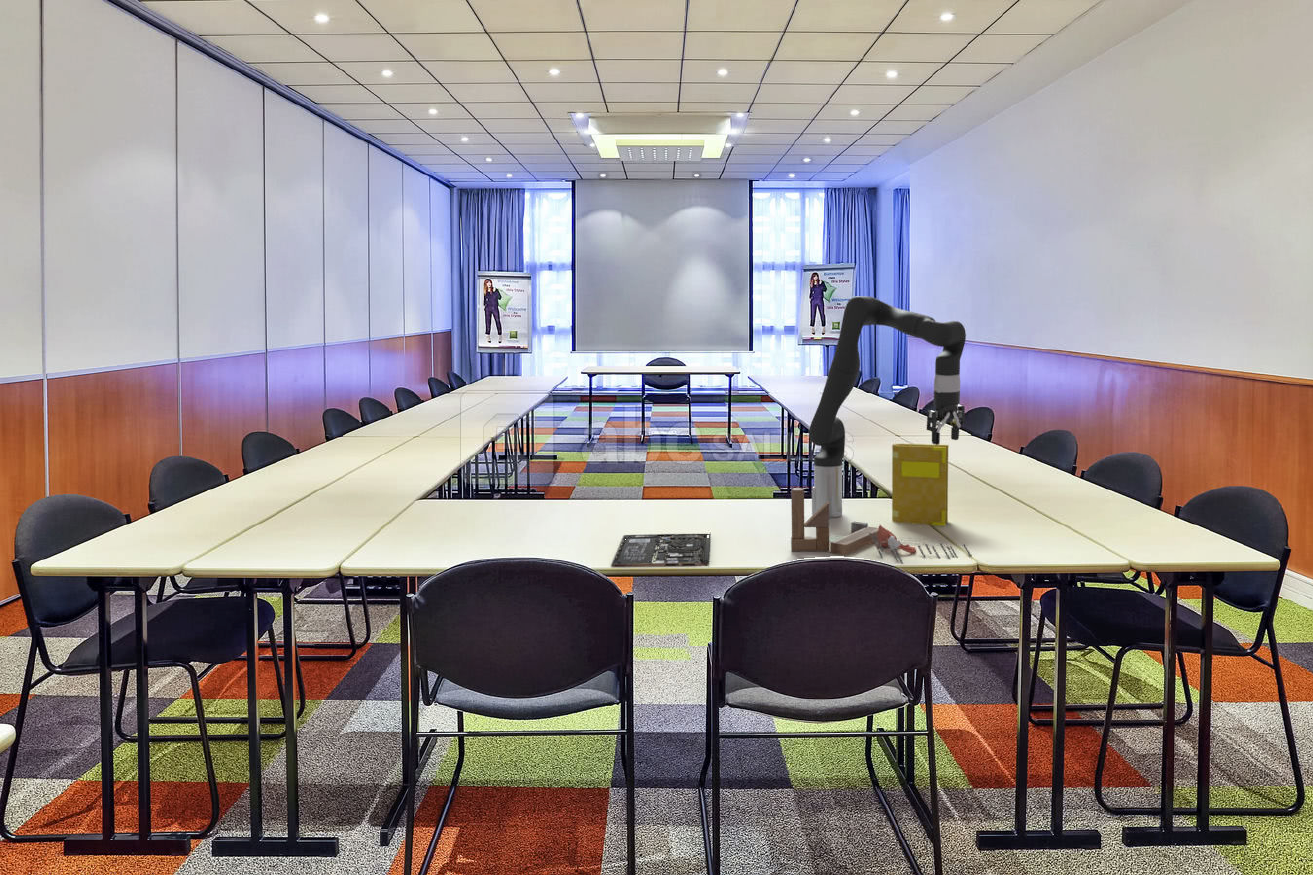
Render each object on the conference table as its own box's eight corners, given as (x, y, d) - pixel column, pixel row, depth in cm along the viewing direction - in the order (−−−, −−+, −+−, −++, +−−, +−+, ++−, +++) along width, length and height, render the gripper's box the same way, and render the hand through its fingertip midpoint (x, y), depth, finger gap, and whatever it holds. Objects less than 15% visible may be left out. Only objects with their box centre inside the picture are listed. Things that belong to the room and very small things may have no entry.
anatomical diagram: (866, 523, 269) (951, 516, 270) (864, 548, 273) (947, 540, 275) (888, 567, 251) (979, 559, 253) (885, 593, 255) (974, 585, 257)
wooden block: (829, 551, 267) (829, 489, 265) (791, 551, 269) (790, 490, 266) (828, 548, 271) (828, 487, 269) (791, 548, 272) (790, 487, 270)
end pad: (810, 539, 282) (810, 538, 282) (823, 534, 288) (823, 533, 288) (846, 544, 275) (846, 543, 275) (858, 539, 281) (858, 538, 281)
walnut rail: (816, 550, 269) (816, 537, 268) (854, 534, 287) (854, 521, 287) (846, 555, 263) (846, 541, 262) (883, 538, 281) (883, 525, 281)
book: (947, 521, 301) (948, 444, 298) (944, 526, 295) (945, 447, 292) (894, 518, 308) (894, 443, 305) (890, 522, 302) (890, 446, 299)
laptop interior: (623, 539, 293) (622, 533, 293) (711, 536, 291) (711, 531, 290) (608, 570, 258) (607, 563, 258) (709, 568, 256) (708, 561, 256)
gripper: (952, 384, 285) (951, 436, 289) (920, 390, 277) (919, 443, 281) (972, 387, 279) (971, 440, 282) (940, 393, 271) (939, 447, 275)
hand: (945, 441), depth 282 cm, fingers open, 8 cm apart
